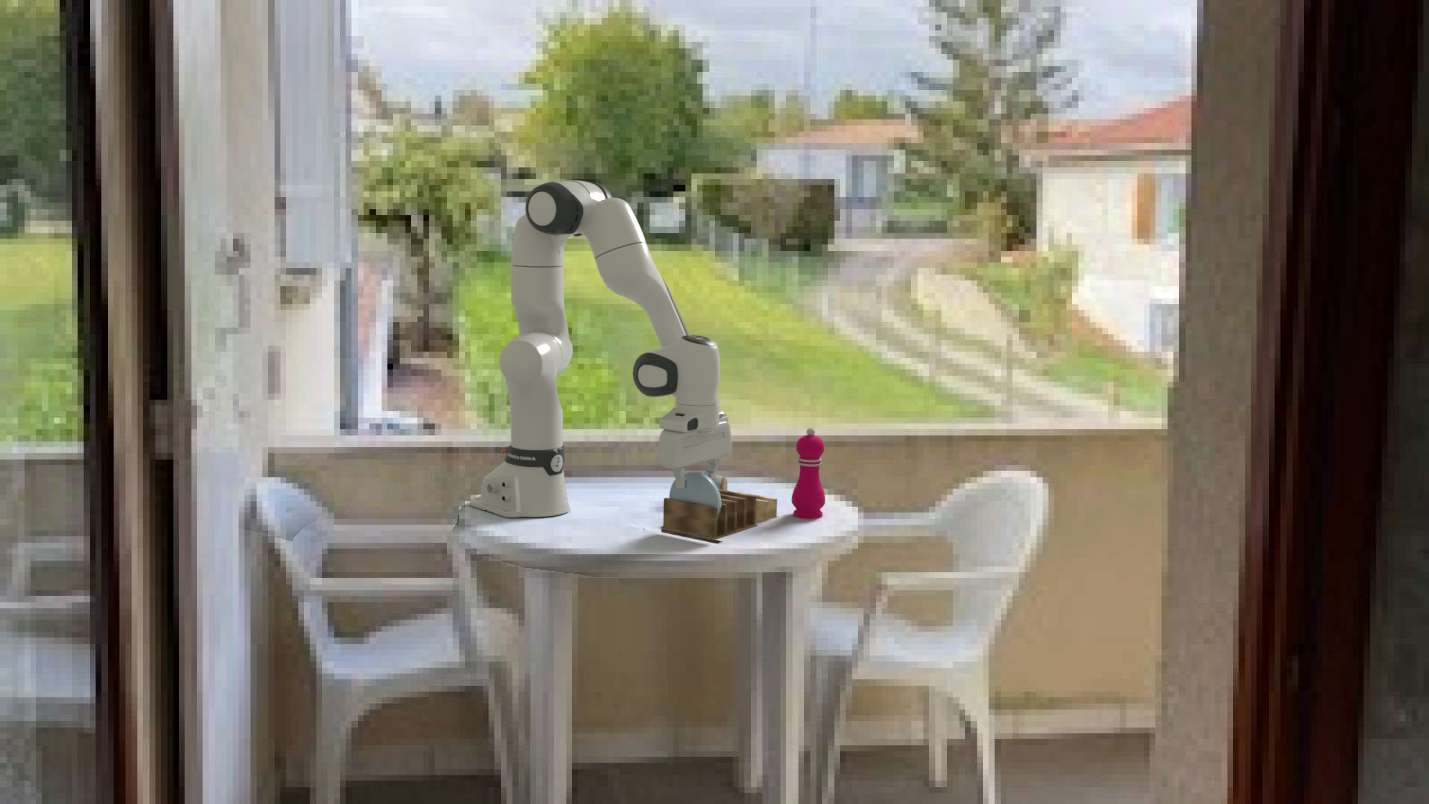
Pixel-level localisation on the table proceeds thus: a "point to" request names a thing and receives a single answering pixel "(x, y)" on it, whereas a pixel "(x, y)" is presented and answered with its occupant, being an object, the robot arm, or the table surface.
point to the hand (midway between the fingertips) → (695, 484)
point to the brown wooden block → (765, 508)
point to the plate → (698, 490)
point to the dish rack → (710, 517)
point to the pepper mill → (809, 478)
